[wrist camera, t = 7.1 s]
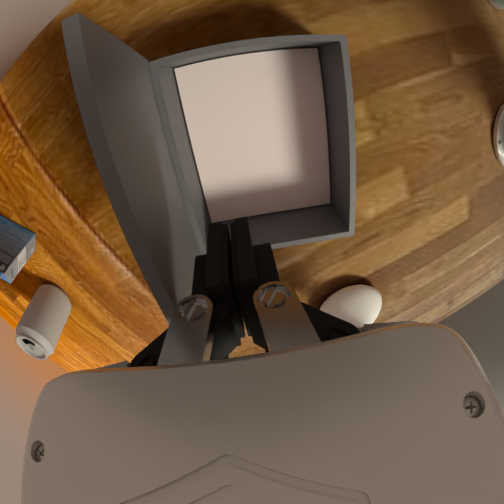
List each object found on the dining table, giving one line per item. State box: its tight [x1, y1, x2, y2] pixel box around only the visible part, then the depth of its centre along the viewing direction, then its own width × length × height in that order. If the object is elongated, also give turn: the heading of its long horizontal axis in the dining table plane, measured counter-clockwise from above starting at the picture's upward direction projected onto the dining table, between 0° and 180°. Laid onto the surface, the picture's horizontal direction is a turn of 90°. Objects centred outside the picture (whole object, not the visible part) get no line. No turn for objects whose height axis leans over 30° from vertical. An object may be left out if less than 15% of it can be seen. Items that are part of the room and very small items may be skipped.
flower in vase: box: [320, 285, 382, 327], centre depth 35 cm, size 13×11×25 cm
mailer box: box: [148, 34, 356, 255], centre depth 26 cm, size 16×20×7 cm
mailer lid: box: [61, 13, 201, 324], centre depth 16 cm, size 17×20×1 cm
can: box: [16, 284, 72, 360], centre depth 36 cm, size 8×8×12 cm
